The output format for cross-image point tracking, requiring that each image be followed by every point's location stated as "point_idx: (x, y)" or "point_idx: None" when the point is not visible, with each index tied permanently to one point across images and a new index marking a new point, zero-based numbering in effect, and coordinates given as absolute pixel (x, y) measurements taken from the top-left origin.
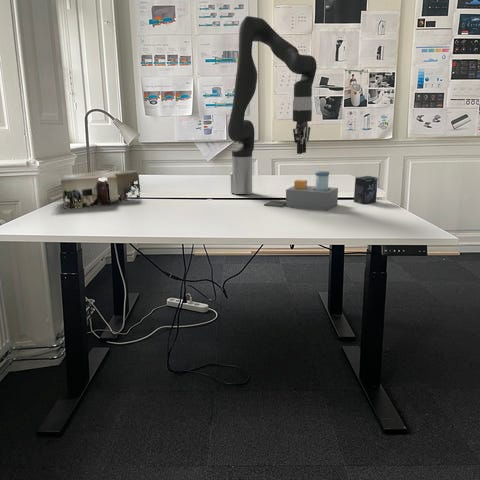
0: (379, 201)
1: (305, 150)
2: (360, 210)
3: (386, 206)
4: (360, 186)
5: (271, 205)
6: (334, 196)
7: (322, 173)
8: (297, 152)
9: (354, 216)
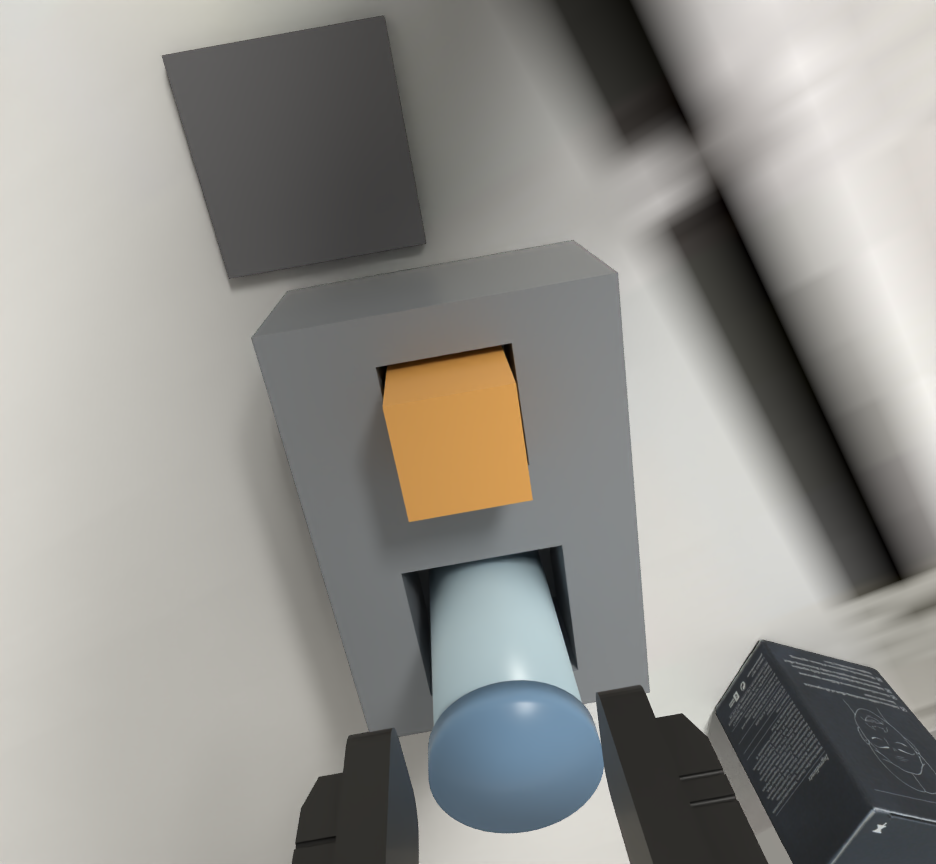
0: None
1: (624, 831)
2: None
3: None
4: (794, 791)
5: (194, 159)
6: None
7: (440, 801)
8: (347, 762)
9: None
